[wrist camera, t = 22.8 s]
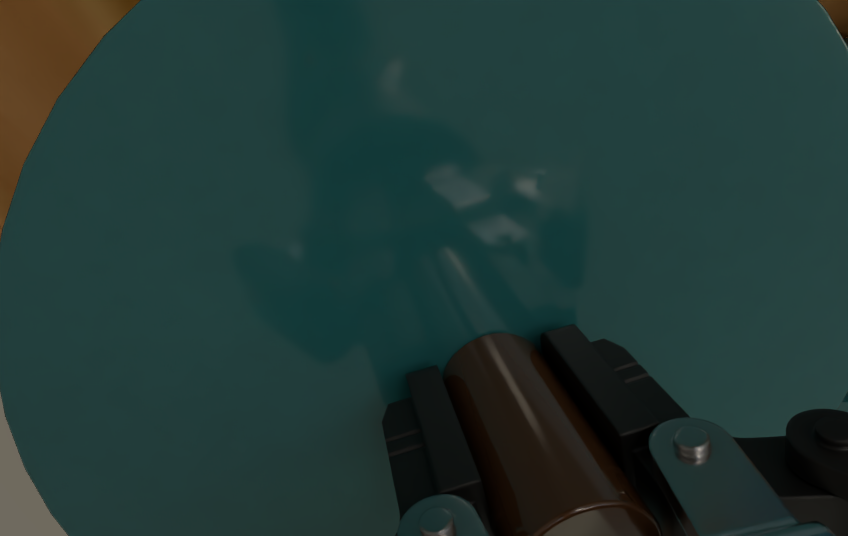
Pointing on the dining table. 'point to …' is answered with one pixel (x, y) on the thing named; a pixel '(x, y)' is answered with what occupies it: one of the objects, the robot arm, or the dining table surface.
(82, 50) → the dining table surface
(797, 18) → the lid
